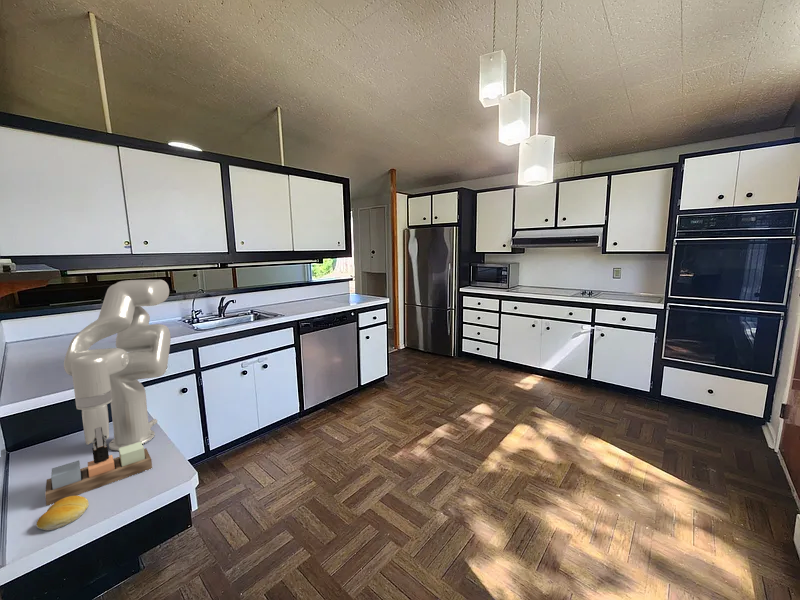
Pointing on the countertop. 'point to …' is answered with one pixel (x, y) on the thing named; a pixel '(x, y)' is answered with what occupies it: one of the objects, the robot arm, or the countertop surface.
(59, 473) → the slate button
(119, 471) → the wooden tray
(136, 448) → the sage button
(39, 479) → the countertop surface
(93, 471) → the orange block
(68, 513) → the bread roll
